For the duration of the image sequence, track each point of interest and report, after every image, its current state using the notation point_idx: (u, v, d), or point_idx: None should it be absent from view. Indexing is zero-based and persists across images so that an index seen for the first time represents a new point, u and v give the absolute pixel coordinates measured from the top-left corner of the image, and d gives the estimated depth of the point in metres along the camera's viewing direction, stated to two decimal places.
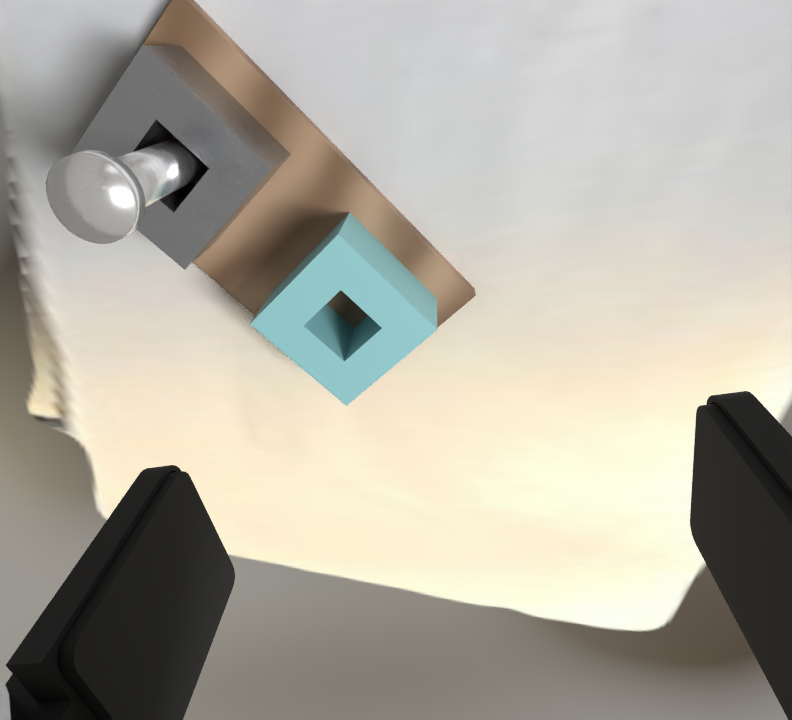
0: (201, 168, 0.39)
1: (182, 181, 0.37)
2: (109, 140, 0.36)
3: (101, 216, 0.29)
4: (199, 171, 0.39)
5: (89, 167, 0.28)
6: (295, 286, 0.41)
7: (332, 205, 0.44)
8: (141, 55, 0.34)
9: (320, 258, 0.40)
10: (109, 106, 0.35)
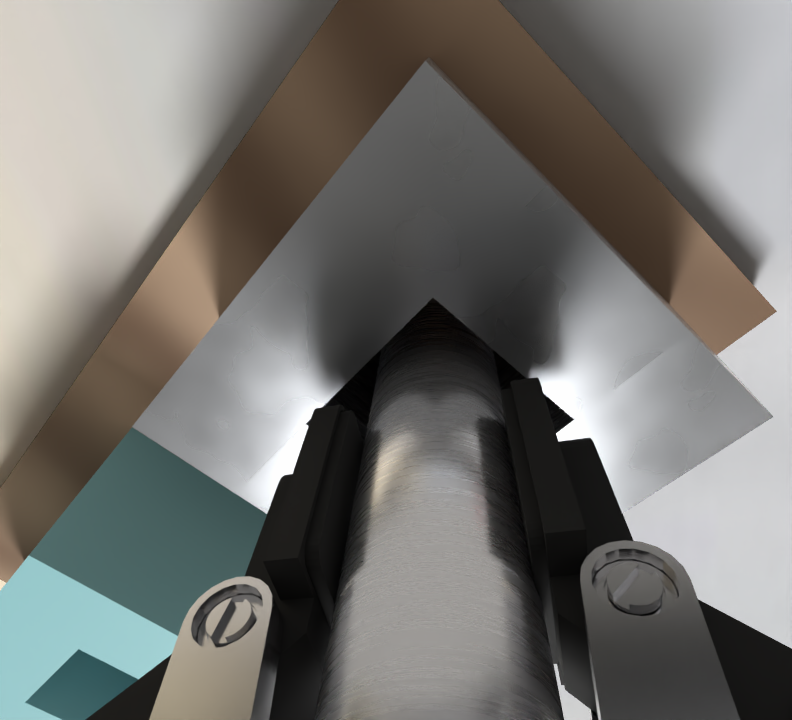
0: None
1: None
2: (518, 274, 0.11)
3: None
4: None
5: None
6: (173, 644, 0.17)
7: None
8: (748, 410, 0.12)
9: None
10: (625, 293, 0.11)
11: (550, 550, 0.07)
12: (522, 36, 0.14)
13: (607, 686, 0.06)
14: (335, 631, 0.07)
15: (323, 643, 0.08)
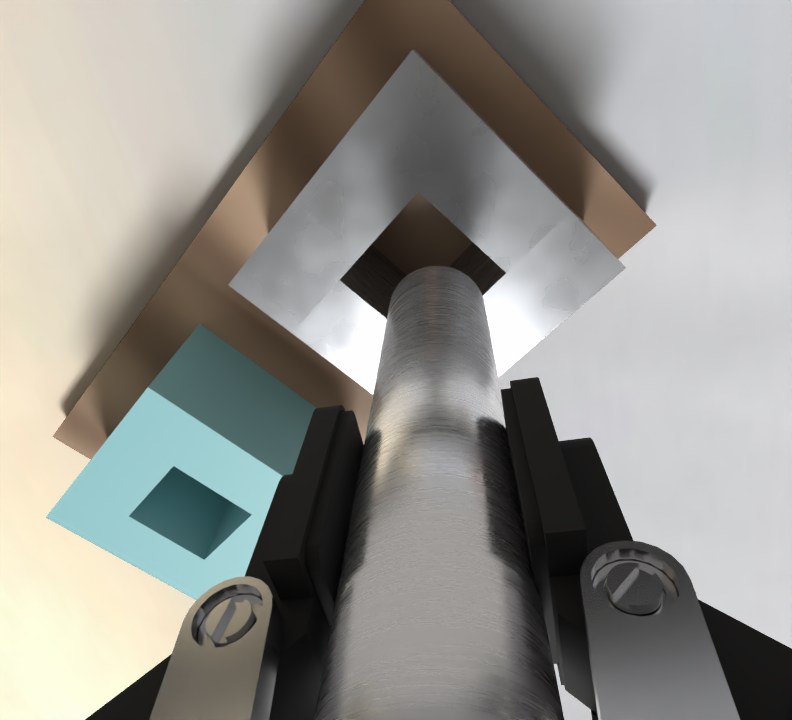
0: None
1: None
2: (468, 176, 0.18)
3: None
4: None
5: None
6: (241, 458, 0.24)
7: (360, 414, 0.30)
8: (610, 263, 0.19)
9: None
10: (531, 187, 0.18)
11: (550, 550, 0.07)
12: (475, 35, 0.21)
13: (607, 686, 0.06)
14: (335, 629, 0.07)
15: (323, 643, 0.08)
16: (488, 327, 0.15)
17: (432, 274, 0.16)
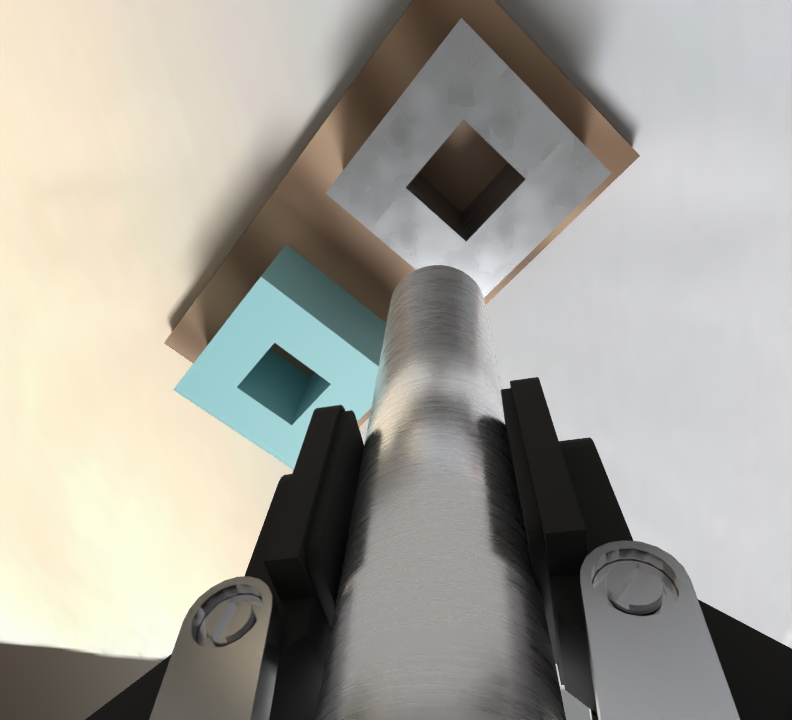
0: None
1: None
2: (498, 106, 0.26)
3: None
4: None
5: None
6: (326, 335, 0.32)
7: None
8: (600, 170, 0.27)
9: (366, 363, 0.33)
10: (543, 114, 0.26)
11: (550, 550, 0.07)
12: (501, 12, 0.29)
13: (607, 686, 0.06)
14: (336, 629, 0.07)
15: (323, 643, 0.08)
16: (489, 326, 0.15)
17: (433, 273, 0.16)
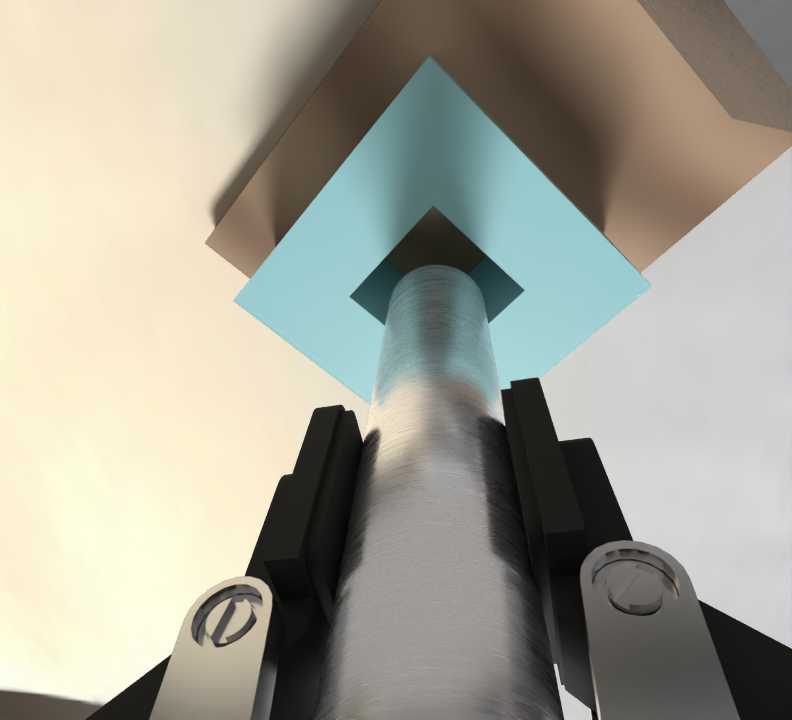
0: None
1: None
2: None
3: None
4: None
5: None
6: (536, 189, 0.17)
7: (620, 201, 0.23)
8: None
9: (600, 249, 0.18)
10: None
11: (550, 550, 0.07)
12: None
13: (607, 686, 0.06)
14: (334, 629, 0.07)
15: (323, 643, 0.08)
16: (488, 326, 0.15)
17: (432, 273, 0.16)
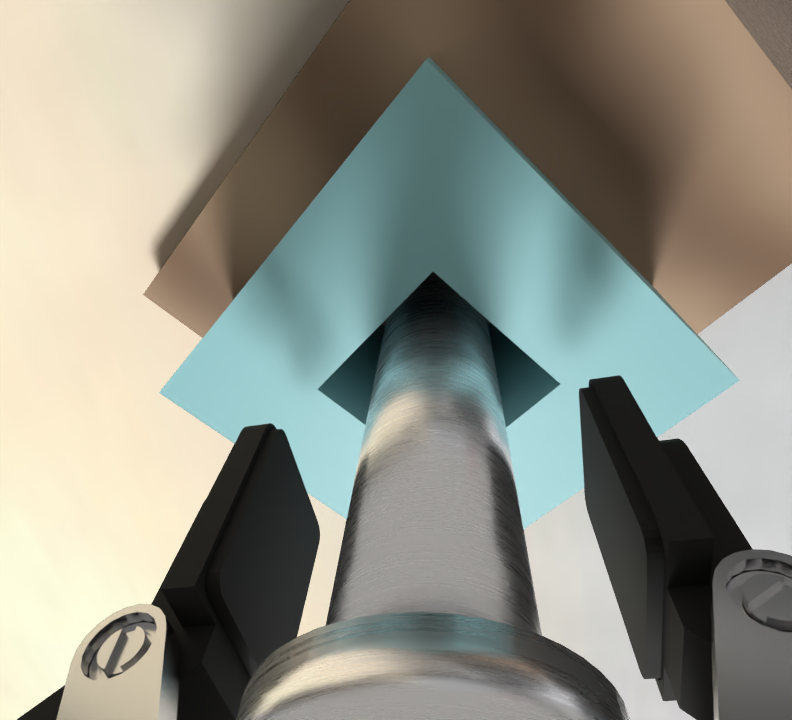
0: None
1: None
2: None
3: None
4: None
5: None
6: (581, 250, 0.12)
7: (675, 245, 0.18)
8: None
9: (670, 332, 0.13)
10: None
11: (671, 560, 0.07)
12: None
13: (774, 712, 0.05)
14: (346, 543, 0.08)
15: (226, 670, 0.08)
16: None
17: None
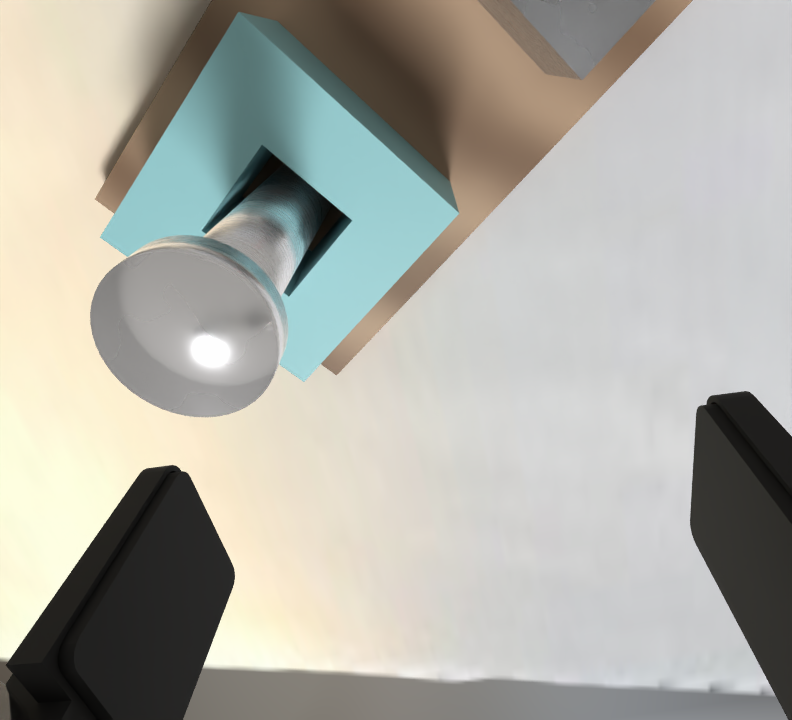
0: None
1: None
2: None
3: (156, 354, 0.14)
4: None
5: (253, 351, 0.14)
6: (347, 128, 0.20)
7: (459, 151, 0.26)
8: None
9: (410, 181, 0.21)
10: None
11: None
12: None
13: None
14: None
15: None
16: None
17: None
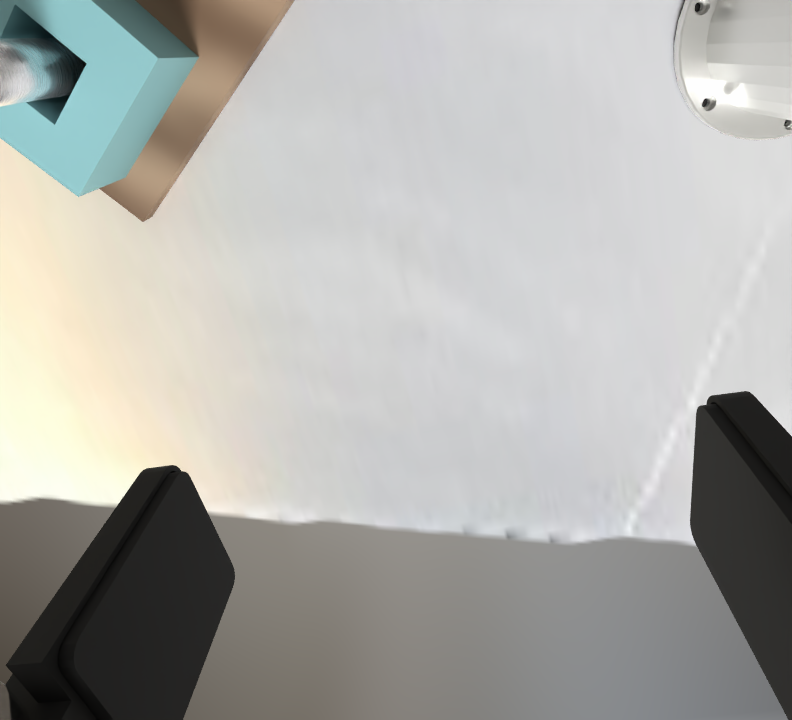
0: None
1: None
2: None
3: None
4: None
5: None
6: None
7: (201, 32, 0.35)
8: None
9: (119, 33, 0.30)
10: None
11: None
12: None
13: None
14: None
15: None
16: None
17: None
